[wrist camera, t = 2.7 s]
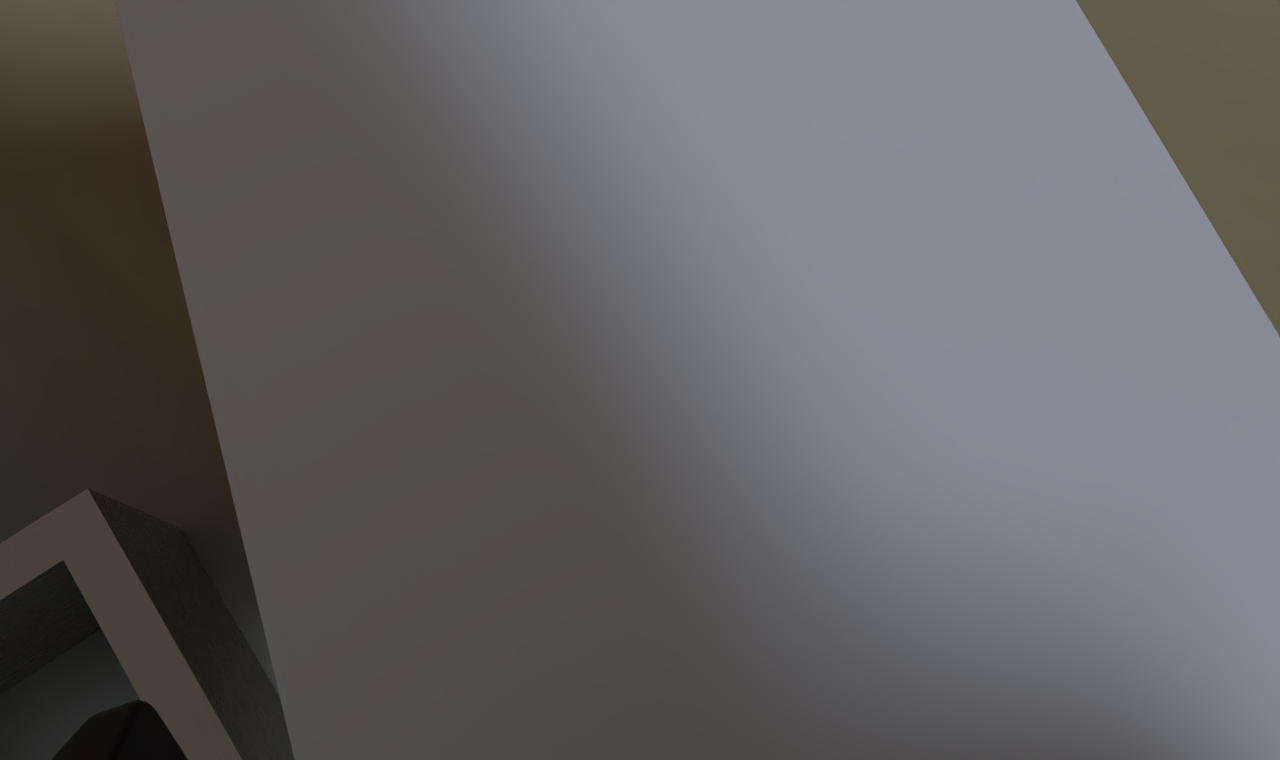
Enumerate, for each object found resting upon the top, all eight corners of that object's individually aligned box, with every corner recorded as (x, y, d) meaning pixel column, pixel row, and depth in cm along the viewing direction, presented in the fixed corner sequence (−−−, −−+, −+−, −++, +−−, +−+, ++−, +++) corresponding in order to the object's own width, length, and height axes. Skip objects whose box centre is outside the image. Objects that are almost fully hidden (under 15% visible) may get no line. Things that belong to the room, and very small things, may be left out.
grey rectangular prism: (825, 739, 16) (1567, 812, 3) (584, 834, 15) (432, 1333, 3) (710, 449, 17) (936, -233, 5) (488, 527, 17) (112, -13, 4)
